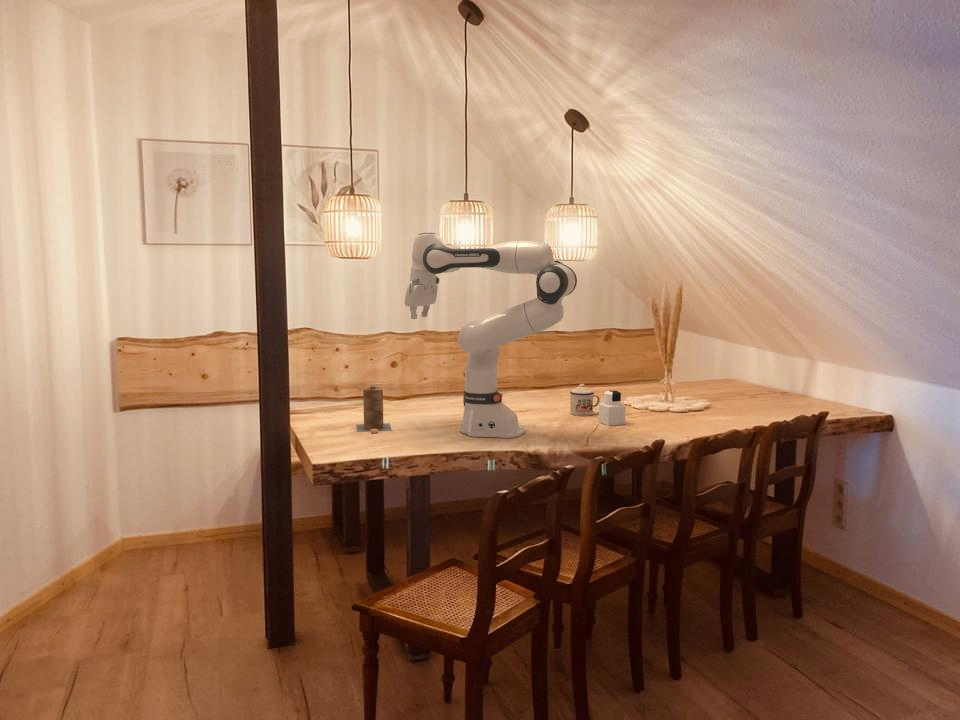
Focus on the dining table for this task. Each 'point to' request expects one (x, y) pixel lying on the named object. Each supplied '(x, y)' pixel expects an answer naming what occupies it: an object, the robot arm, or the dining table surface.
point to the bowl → (374, 431)
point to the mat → (361, 429)
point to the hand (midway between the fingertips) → (419, 318)
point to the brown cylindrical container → (373, 407)
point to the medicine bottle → (612, 409)
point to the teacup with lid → (582, 401)
